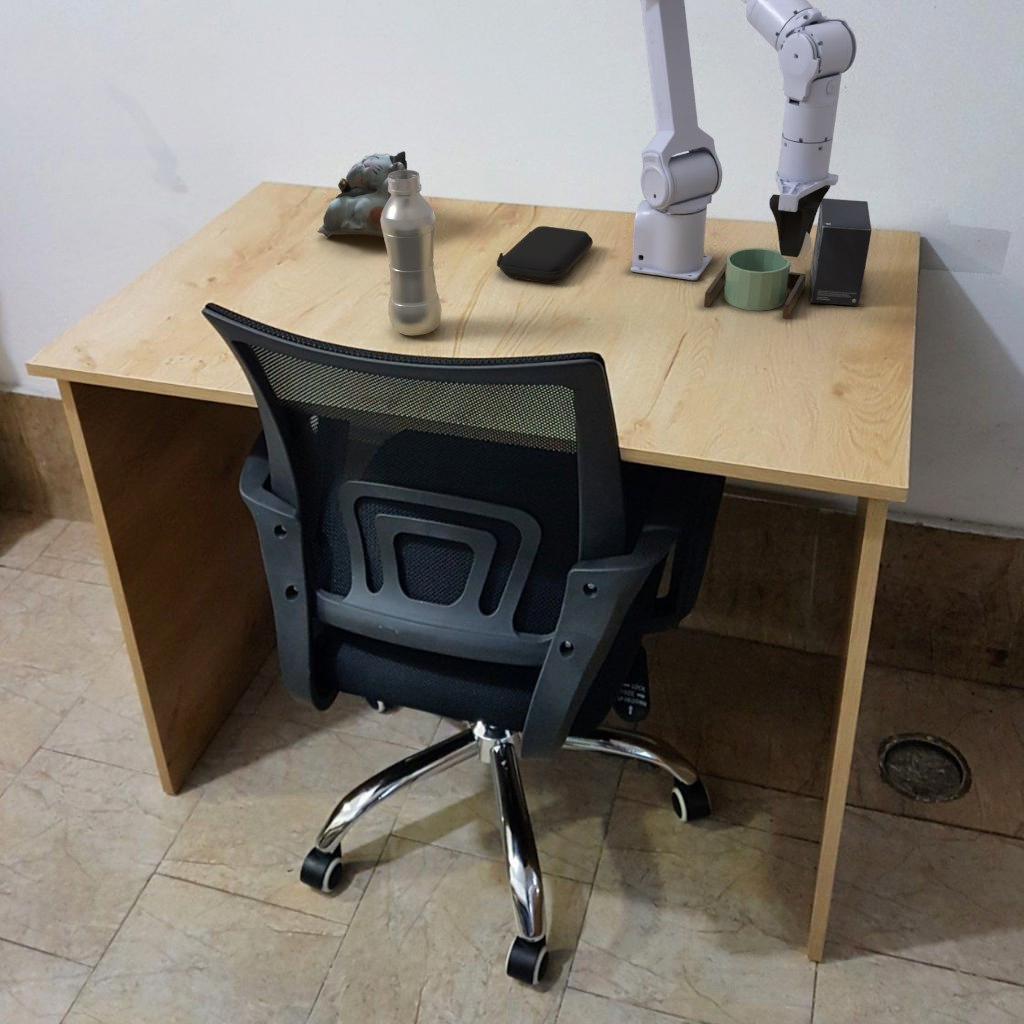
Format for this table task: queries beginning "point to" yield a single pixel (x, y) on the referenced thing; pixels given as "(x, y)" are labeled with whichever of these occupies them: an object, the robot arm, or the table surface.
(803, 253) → the off-white sphere
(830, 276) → the small box
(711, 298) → the bar
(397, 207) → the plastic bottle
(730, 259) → the waste bin
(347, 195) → the lucky cat figurine
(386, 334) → the table surface
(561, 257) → the carrying case
